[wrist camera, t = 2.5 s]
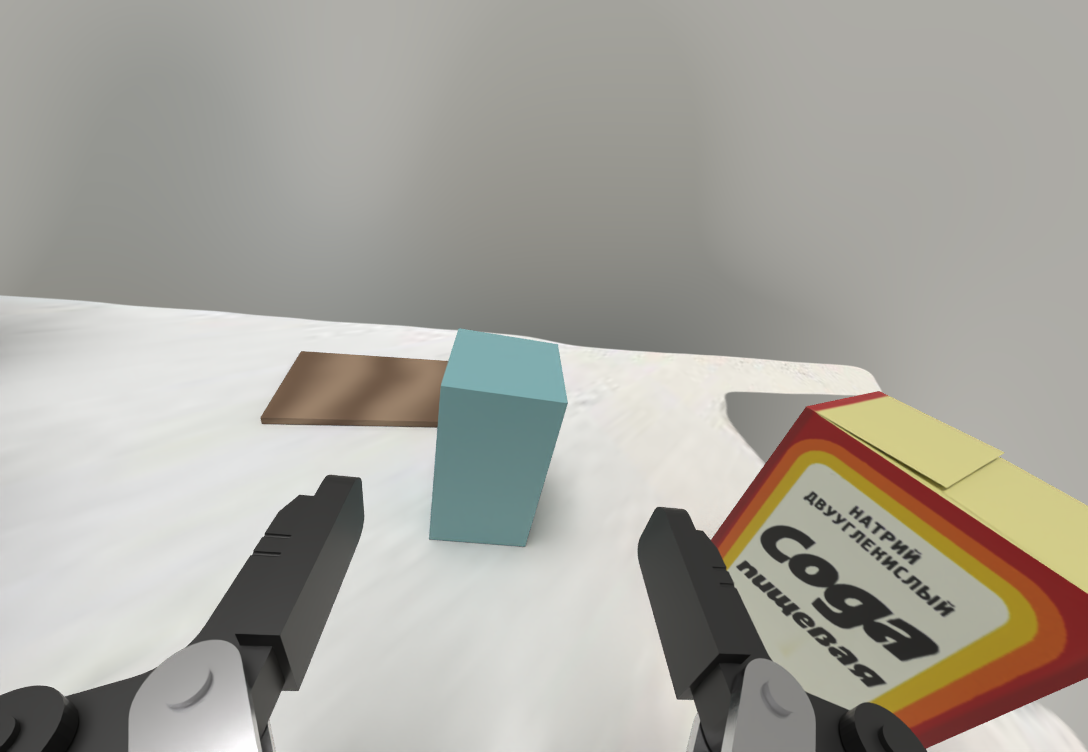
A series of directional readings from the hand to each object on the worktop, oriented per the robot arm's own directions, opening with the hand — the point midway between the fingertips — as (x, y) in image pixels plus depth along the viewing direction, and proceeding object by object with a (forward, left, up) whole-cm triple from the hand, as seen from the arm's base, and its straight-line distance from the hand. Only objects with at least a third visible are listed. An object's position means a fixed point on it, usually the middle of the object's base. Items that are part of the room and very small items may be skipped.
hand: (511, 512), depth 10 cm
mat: (-17, +19, -14) cm, 29 cm away
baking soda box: (+16, +7, -14) cm, 22 cm away
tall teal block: (-3, +11, -14) cm, 18 cm away
